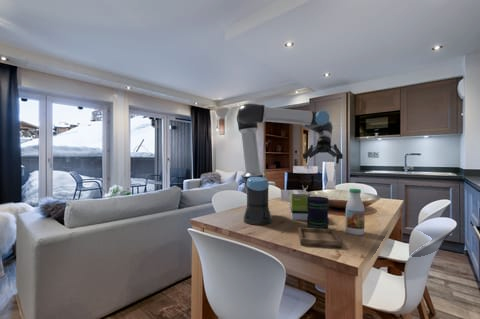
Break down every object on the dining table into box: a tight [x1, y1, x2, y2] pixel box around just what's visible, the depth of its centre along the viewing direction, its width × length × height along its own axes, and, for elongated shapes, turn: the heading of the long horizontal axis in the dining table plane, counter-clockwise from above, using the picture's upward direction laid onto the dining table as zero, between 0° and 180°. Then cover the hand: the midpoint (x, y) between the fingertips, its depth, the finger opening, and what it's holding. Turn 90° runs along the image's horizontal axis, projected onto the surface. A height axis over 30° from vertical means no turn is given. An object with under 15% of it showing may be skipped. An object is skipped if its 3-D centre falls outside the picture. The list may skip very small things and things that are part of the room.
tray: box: [297, 226, 343, 249], centre depth 94 cm, size 15×15×2 cm
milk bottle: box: [345, 188, 366, 236], centre depth 103 cm, size 8×8×20 cm
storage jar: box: [306, 195, 330, 229], centre depth 108 cm, size 10×10×15 cm
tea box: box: [289, 189, 311, 221], centre depth 131 cm, size 15×10×15 cm
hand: (320, 167), depth 118 cm, fingers open, 13 cm apart
